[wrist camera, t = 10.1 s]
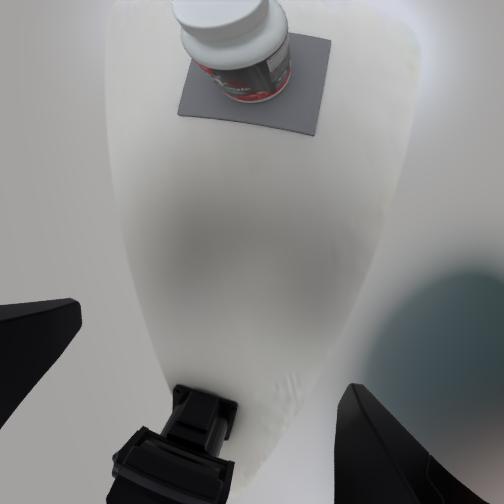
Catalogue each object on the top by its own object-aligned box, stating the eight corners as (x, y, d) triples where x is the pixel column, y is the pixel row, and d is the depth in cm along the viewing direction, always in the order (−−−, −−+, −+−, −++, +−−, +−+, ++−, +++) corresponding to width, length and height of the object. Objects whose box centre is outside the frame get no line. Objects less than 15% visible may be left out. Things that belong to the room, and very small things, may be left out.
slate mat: (314, 136, 17) (314, 134, 17) (179, 115, 19) (177, 114, 18) (330, 42, 15) (331, 40, 15) (203, 29, 16) (202, 27, 16)
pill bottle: (206, 96, 17) (136, 38, 8) (230, 37, 16) (185, -41, 7) (278, 114, 17) (259, 49, 8) (300, 51, 16) (298, -36, 6)
